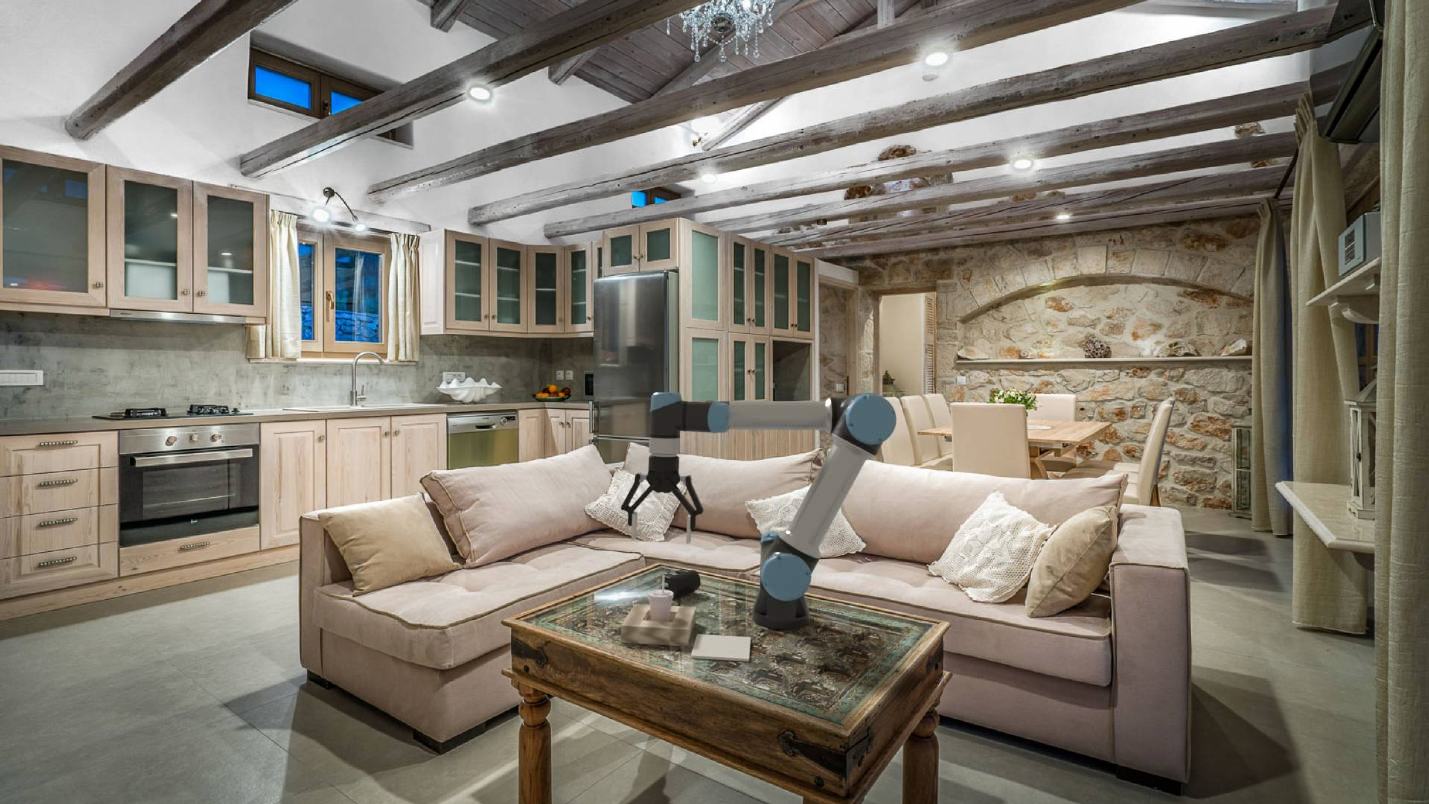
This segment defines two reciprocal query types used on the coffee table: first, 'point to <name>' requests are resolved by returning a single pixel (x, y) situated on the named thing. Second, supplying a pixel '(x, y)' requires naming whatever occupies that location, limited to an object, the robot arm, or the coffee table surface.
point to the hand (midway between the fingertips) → (661, 540)
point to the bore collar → (658, 626)
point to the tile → (721, 647)
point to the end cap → (682, 582)
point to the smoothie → (660, 603)
